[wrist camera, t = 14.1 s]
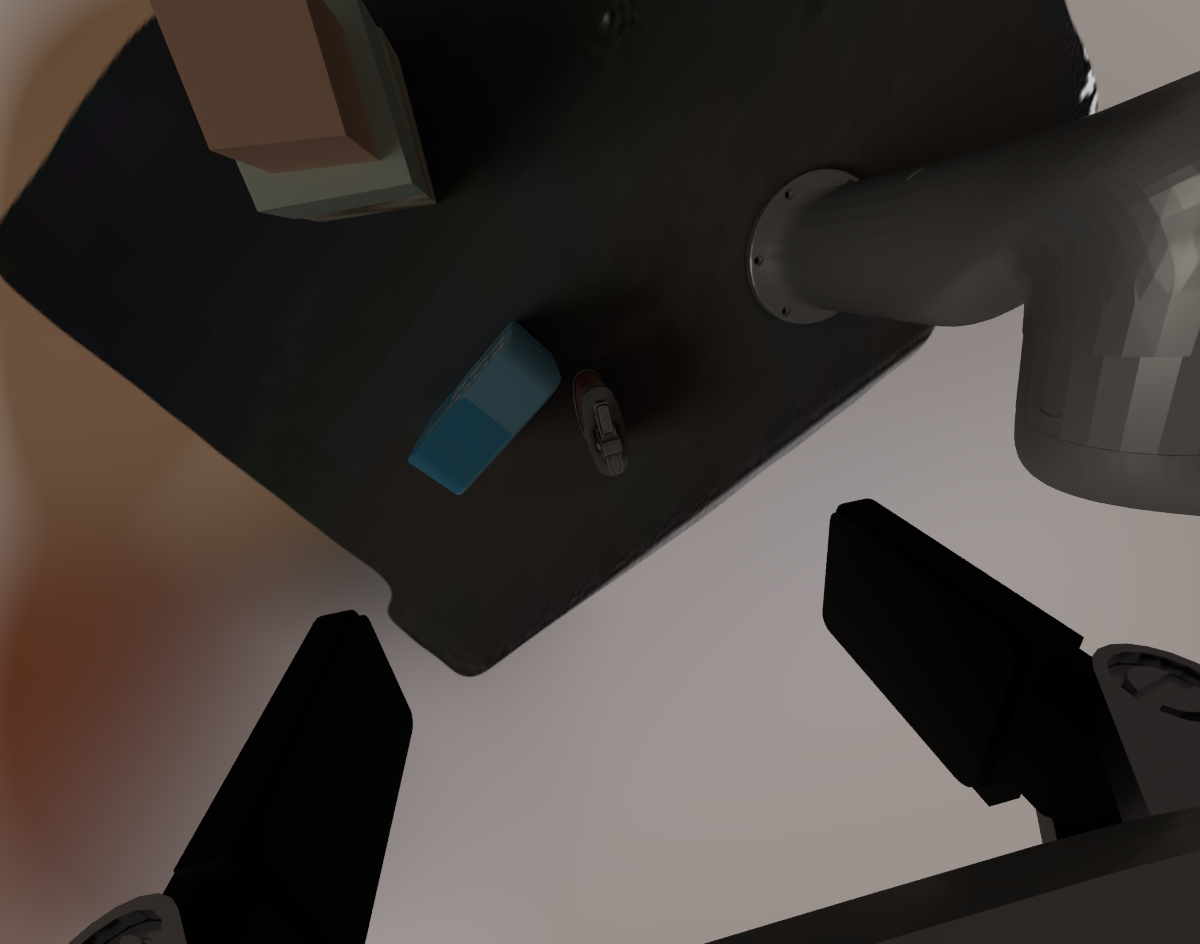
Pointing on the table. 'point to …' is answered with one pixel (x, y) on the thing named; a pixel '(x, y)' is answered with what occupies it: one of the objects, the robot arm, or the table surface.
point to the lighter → (600, 422)
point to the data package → (486, 409)
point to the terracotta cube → (269, 81)
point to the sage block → (355, 181)
